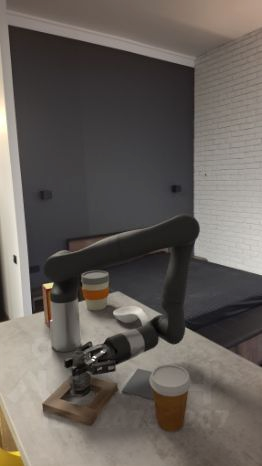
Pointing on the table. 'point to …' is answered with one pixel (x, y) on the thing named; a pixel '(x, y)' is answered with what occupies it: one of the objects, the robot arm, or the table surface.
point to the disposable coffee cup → (170, 395)
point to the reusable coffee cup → (95, 289)
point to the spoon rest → (131, 314)
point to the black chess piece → (79, 378)
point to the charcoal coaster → (139, 385)
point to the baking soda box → (47, 302)
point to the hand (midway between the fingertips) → (68, 368)
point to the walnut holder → (78, 412)
